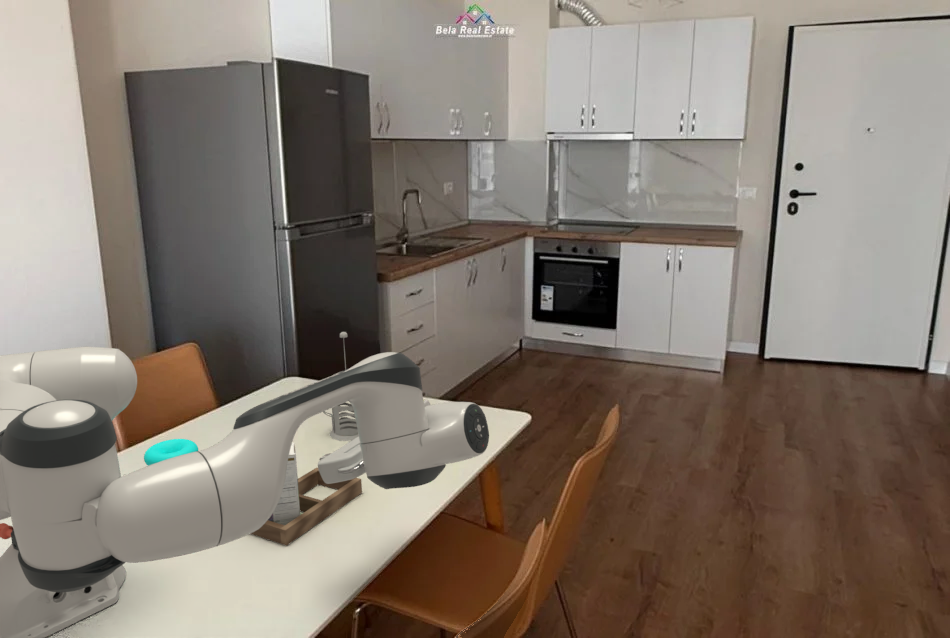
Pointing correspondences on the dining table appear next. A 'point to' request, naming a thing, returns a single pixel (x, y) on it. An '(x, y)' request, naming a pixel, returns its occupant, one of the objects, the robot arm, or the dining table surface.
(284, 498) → the syrup box
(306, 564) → the dining table surface
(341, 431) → the french press
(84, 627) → the dining table surface
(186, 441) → the donuts
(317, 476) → the wooden divided tray
